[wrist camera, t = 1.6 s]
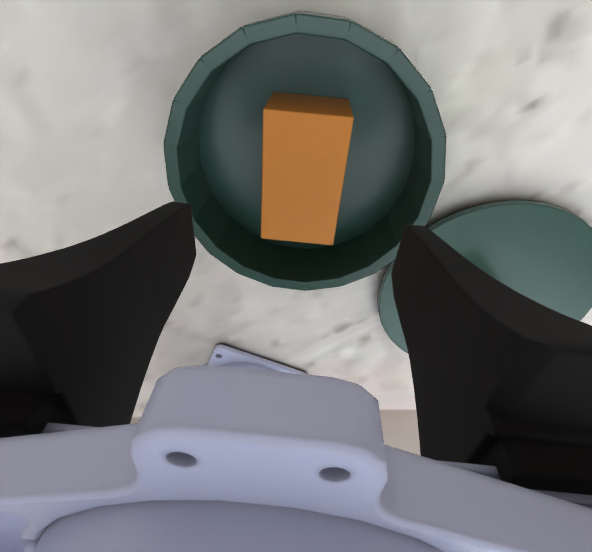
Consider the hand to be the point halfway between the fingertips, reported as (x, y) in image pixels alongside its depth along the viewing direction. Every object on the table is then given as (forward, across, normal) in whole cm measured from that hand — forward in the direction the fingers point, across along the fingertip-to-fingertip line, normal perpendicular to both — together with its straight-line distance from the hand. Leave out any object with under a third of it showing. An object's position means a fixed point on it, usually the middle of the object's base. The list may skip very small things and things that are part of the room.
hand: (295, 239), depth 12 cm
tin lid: (+8, -12, +8) cm, 16 cm away
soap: (+8, 0, 0) cm, 8 cm away
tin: (+8, 0, 0) cm, 8 cm away
